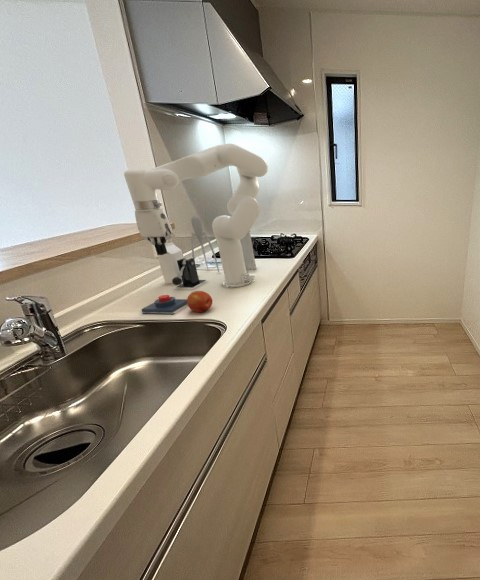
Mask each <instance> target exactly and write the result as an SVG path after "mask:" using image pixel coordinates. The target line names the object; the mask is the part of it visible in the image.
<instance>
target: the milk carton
mask: <svg viewBox="0 0 480 580" xmlns="http://www.w3.org/2000/svg"><path fill="white" fill-rule="evenodd" d="M165 246H166V250H167V253H166V254H164V255H157V254H156V256H157V260H158V263H159V267H160V270H161V273H162V277H163V280H164V284H173V283H172V279H173V278H175V277H177V276H178V274H179V272H180V271H179V267H178V263H177V260H180V259H182V258H185V257H184V253H183V250H182V249H180V247H178V246H177V245H175V244H174V241H172V242H169V243H165ZM181 280H182V278H181Z"/></svg>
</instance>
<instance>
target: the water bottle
mask: <svg viewBox="0 0 480 580" xmlns="http://www.w3.org/2000/svg"><path fill="white" fill-rule="evenodd" d="M239 240H240V242H241V246H242V251H243V257H244V262H245V267H246V271H254V270H256V269H257V265H256V258H255V253H254V247H253V242H252V235H251V229H250V230H249V232H248V233H247V235H246V236H245V237H244V238H242V239H239Z"/></svg>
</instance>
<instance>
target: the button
mask: <svg viewBox="0 0 480 580" xmlns="http://www.w3.org/2000/svg"><path fill="white" fill-rule="evenodd" d="M170 297H171V296H170V294H163V295H160V296H158V298H157V299H159V302H166V301H169V300H171V299H170Z"/></svg>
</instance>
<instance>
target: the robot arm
mask: <svg viewBox="0 0 480 580" xmlns="http://www.w3.org/2000/svg"><path fill="white" fill-rule="evenodd" d="M227 167H236V171H237V173H238V176H239V183H238V185H237V187H236V189H235V191H234V193H233V194H232V196H230V198H229V200H228V202H227V204H226V209H227V211H228V213H229V214H230V215H218V216H216V217H215V218H214V219H213V221H212V223H211V228H212V232H213V236H214V237H215V240H216V241H215V242H216V244H217V248H218V252H219V257H220V262H221V266H222V270H223V274H224V275H223V276H224V281H223V282H222V283H221V284H222V285H223V286H226V287H228V288H231V289H232V288H239V287H244V286H247V285H250V284H251V283H252V282H255V280H256V276H255V275H250V272H247V270H246V267H245V262H244V257H243V251H242V246H241V242H240V240H239V239H242V238H244V237H245V236H246V235H247V233H248V232H249V230H250V231H251V229H252V227H253V225H254V224H255V222H256V220H257V219H258V217H259V215H260V211H261V209H260V208H261V207H260V204H259V201H258V200H257V199H256V198H257V197H258V194H259V191H260V184H259V179H258V178H262V177H264V176H266V175H267V173H268V171H269V166H268V163H267V162H266V160H265V159H264V158H263V157H261V156H260V155H258V154H256V153H254V152H252V151H249V149H245V148H244V147H241V146H239V145H237V144H235V143H222V144H217V145H214V146H211V147H208V148H206V149H203V150H200V151H197V152H195V153H192V154H189V155H186V156H183V157H181V158H179V159H176V160H173V161H170V162H168V163H164V164H161V165H158V166H156V167H153V168H150V169H148V170H146V169H129V170H125V171H124V173H123V176H124V179H125V182H126V185H127V188H128V191H129V194H130V197H131V199H132V204H133V206H134V209H135V210H134V217H135V222H136V226H137V229H138V232H139V234H140V236H141V237H142V239H143V240H144V241H148V242H150V243H151V244H152V246H154V248H155V249H154V250H155V252H156V256H157V255H164V254H166V253H167V250H166V246H165V244H167V241H168V240H170V239H171V240H172V239H173V236H172V234H173V232H174V231H173V228H172V225H171V222H170V220H169V217H168V215H167V214H166V211H165V210H164V208H161V207H162V205H163V204H162V202H159V199H158V195H157V191H156V190H159V191H160V190H162V191H171V190H174V189H175V188H177V187H178V185H180V184H179V183H180V182H182V181H185V180H186V181H187V180H190V179H198V178H202V177H205V176H208V175H210V174H212V173H215V172H217V171H219V170H223V169H225V168H227ZM249 233H250V232H249Z"/></svg>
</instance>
